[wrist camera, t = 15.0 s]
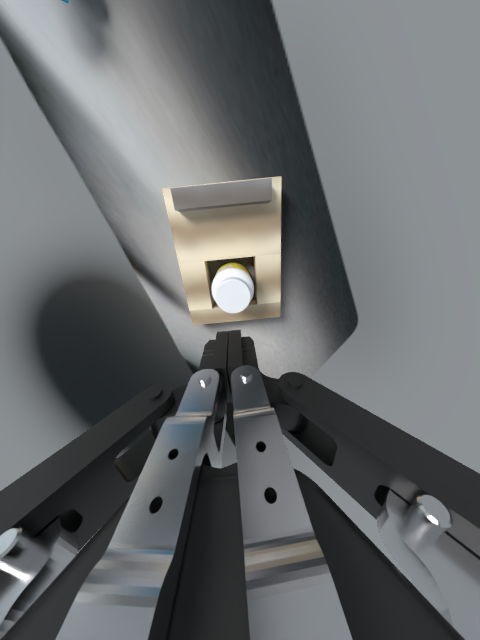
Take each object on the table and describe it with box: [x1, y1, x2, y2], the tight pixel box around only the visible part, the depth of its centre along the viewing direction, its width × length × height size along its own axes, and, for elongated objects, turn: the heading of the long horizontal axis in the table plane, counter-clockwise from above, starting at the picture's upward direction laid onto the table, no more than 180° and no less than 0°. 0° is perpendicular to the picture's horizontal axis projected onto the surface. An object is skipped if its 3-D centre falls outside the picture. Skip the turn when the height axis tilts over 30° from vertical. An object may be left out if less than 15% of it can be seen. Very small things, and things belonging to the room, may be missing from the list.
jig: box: [162, 176, 281, 325], centre depth 25 cm, size 18×14×5 cm
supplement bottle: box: [211, 262, 254, 313], centre depth 24 cm, size 5×5×10 cm
